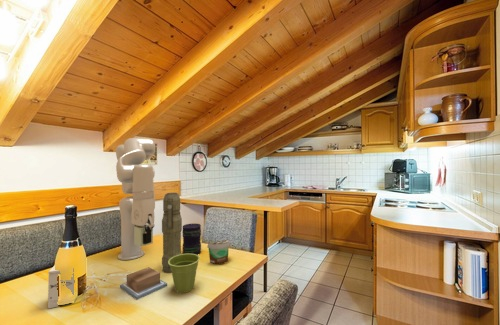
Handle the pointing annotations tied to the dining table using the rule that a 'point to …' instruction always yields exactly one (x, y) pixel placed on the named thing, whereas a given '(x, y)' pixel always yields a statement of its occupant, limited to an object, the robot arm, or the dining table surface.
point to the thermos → (171, 229)
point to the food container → (219, 252)
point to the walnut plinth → (143, 279)
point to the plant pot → (184, 271)
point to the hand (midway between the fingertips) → (143, 241)
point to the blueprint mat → (144, 292)
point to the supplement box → (53, 287)
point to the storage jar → (191, 239)
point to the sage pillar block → (140, 236)
